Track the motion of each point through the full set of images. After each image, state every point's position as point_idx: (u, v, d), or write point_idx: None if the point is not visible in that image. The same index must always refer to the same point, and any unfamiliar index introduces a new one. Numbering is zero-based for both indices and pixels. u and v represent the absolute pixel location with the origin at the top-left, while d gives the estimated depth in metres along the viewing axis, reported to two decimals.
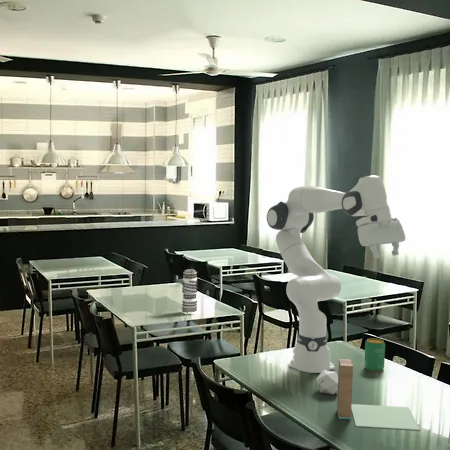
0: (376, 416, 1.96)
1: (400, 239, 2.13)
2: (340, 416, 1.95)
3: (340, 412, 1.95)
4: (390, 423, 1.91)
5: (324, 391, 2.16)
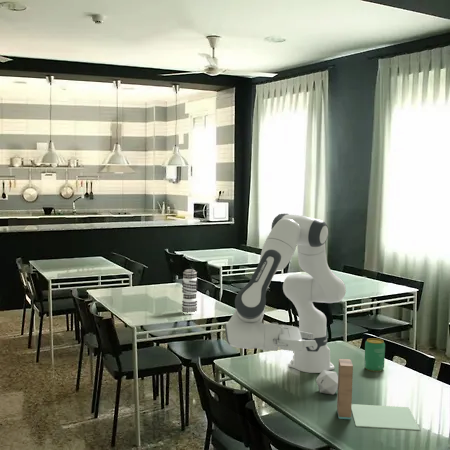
0: (376, 416, 1.96)
1: None
2: (340, 416, 1.95)
3: (340, 412, 1.95)
4: (390, 423, 1.91)
5: (324, 391, 2.16)
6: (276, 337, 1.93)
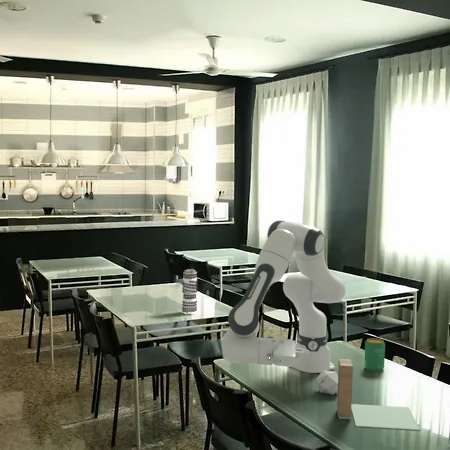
0: (376, 416, 1.96)
1: None
2: (340, 416, 1.95)
3: (340, 412, 1.95)
4: (390, 423, 1.91)
5: (324, 391, 2.16)
6: (270, 352, 1.94)
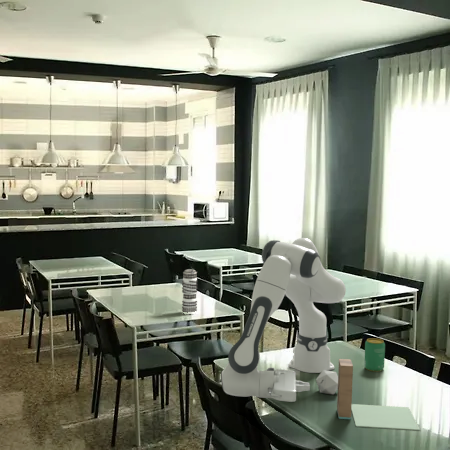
0: (376, 416, 1.96)
1: None
2: (340, 416, 1.95)
3: (340, 412, 1.95)
4: (390, 423, 1.91)
5: (324, 391, 2.16)
6: (271, 386, 1.96)
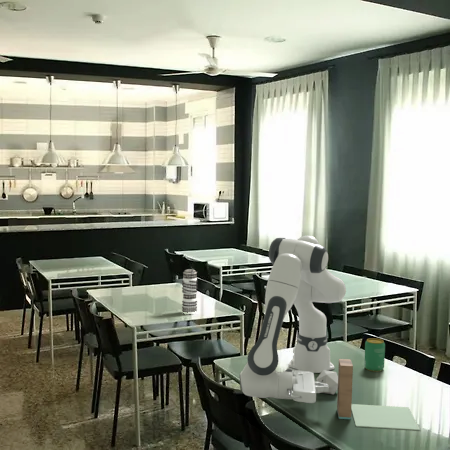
0: (376, 416, 1.96)
1: None
2: (340, 416, 1.95)
3: (340, 412, 1.95)
4: (390, 423, 1.91)
5: None
6: (290, 387, 1.95)
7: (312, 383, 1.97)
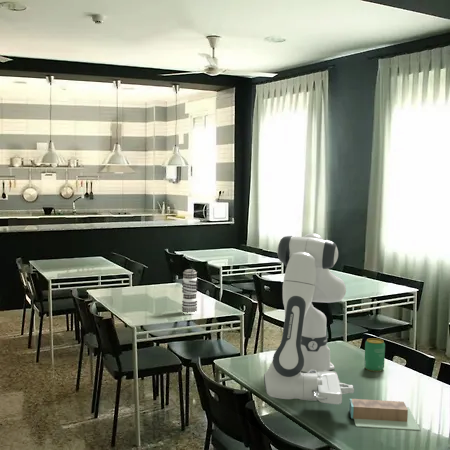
0: None
1: None
2: (354, 408, 1.94)
3: (358, 408, 1.94)
4: (390, 423, 1.91)
5: None
6: (315, 388, 1.94)
7: (337, 384, 1.96)
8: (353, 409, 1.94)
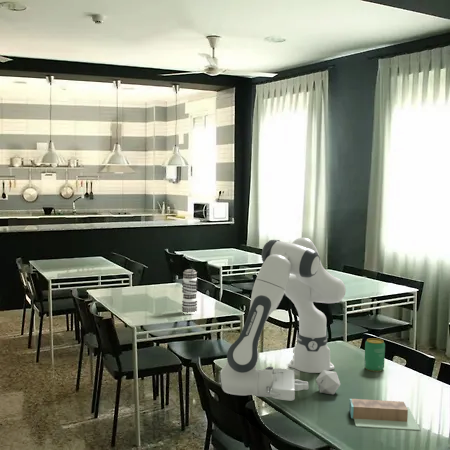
0: None
1: None
2: (354, 408, 1.94)
3: (358, 408, 1.94)
4: (390, 423, 1.91)
5: (324, 391, 2.16)
6: (269, 385, 1.96)
7: (292, 381, 1.98)
8: (353, 409, 1.94)
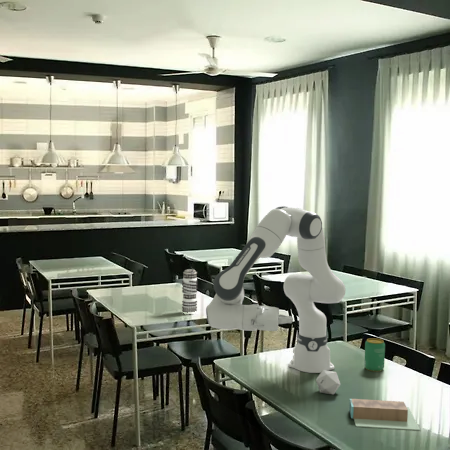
0: None
1: None
2: (354, 408, 1.94)
3: (358, 408, 1.94)
4: (390, 423, 1.91)
5: (324, 391, 2.16)
6: (254, 318, 2.01)
7: (276, 314, 2.03)
8: (353, 409, 1.94)
